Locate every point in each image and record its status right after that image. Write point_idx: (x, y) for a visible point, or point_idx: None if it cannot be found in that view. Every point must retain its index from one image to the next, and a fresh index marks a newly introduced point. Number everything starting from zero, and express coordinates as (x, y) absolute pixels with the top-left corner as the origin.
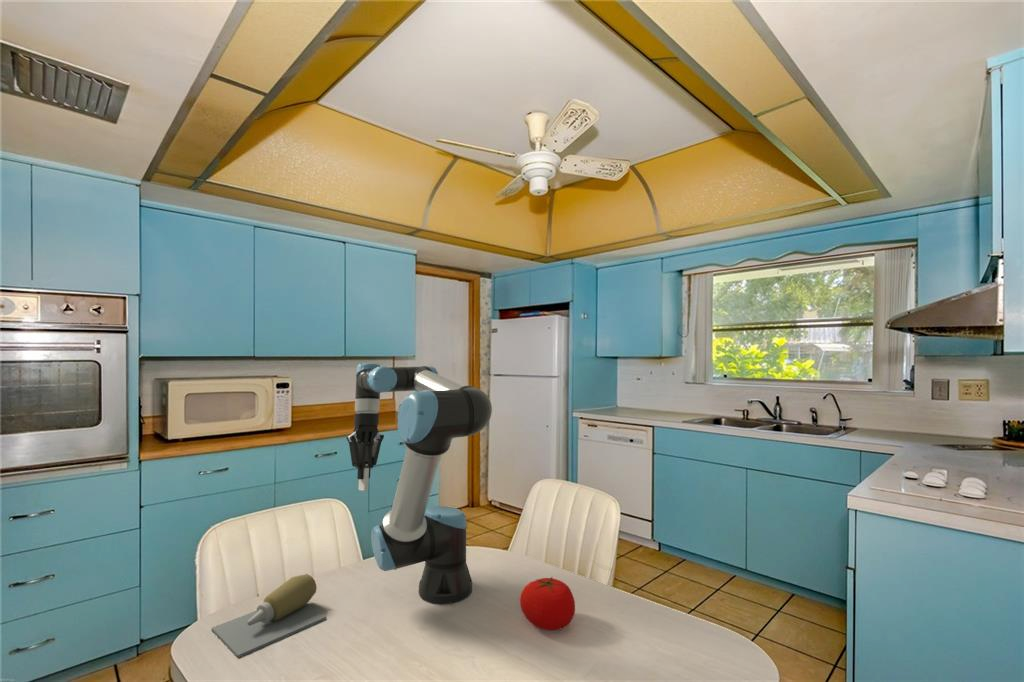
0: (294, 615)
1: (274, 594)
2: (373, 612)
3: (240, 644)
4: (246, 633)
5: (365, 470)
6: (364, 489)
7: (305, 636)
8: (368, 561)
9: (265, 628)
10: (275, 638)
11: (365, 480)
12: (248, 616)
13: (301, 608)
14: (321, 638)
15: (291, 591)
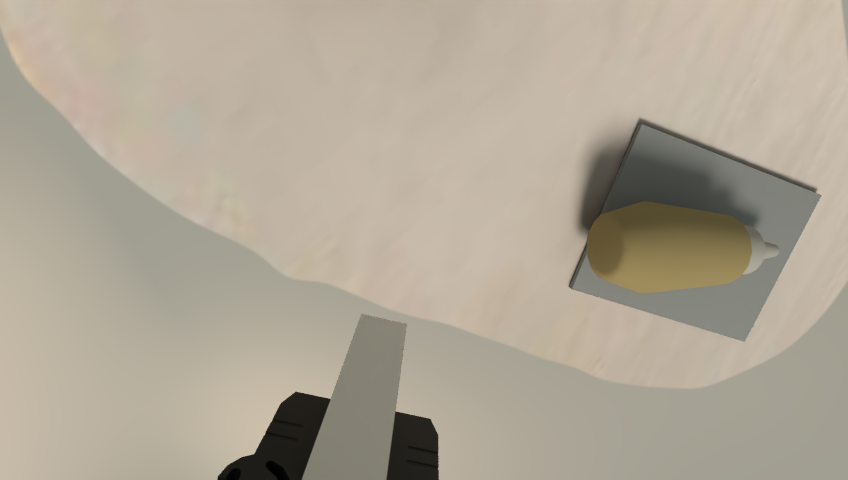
0: None
1: (744, 256)
2: (569, 12)
3: (786, 225)
4: None
5: (378, 476)
6: (402, 328)
7: (716, 114)
8: (289, 259)
9: None
10: (753, 169)
11: (385, 378)
12: (687, 310)
13: None
14: (715, 66)
15: (710, 229)
